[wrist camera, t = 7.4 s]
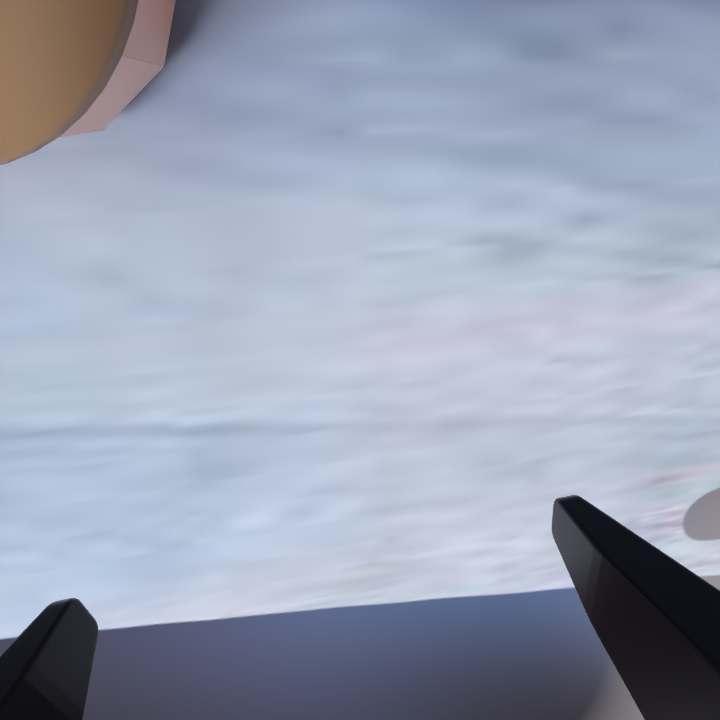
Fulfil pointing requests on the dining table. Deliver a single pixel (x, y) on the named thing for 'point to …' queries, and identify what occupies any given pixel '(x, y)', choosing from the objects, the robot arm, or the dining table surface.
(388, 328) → the dining table surface
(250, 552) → the dining table surface
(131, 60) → the bowl
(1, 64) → the lid
